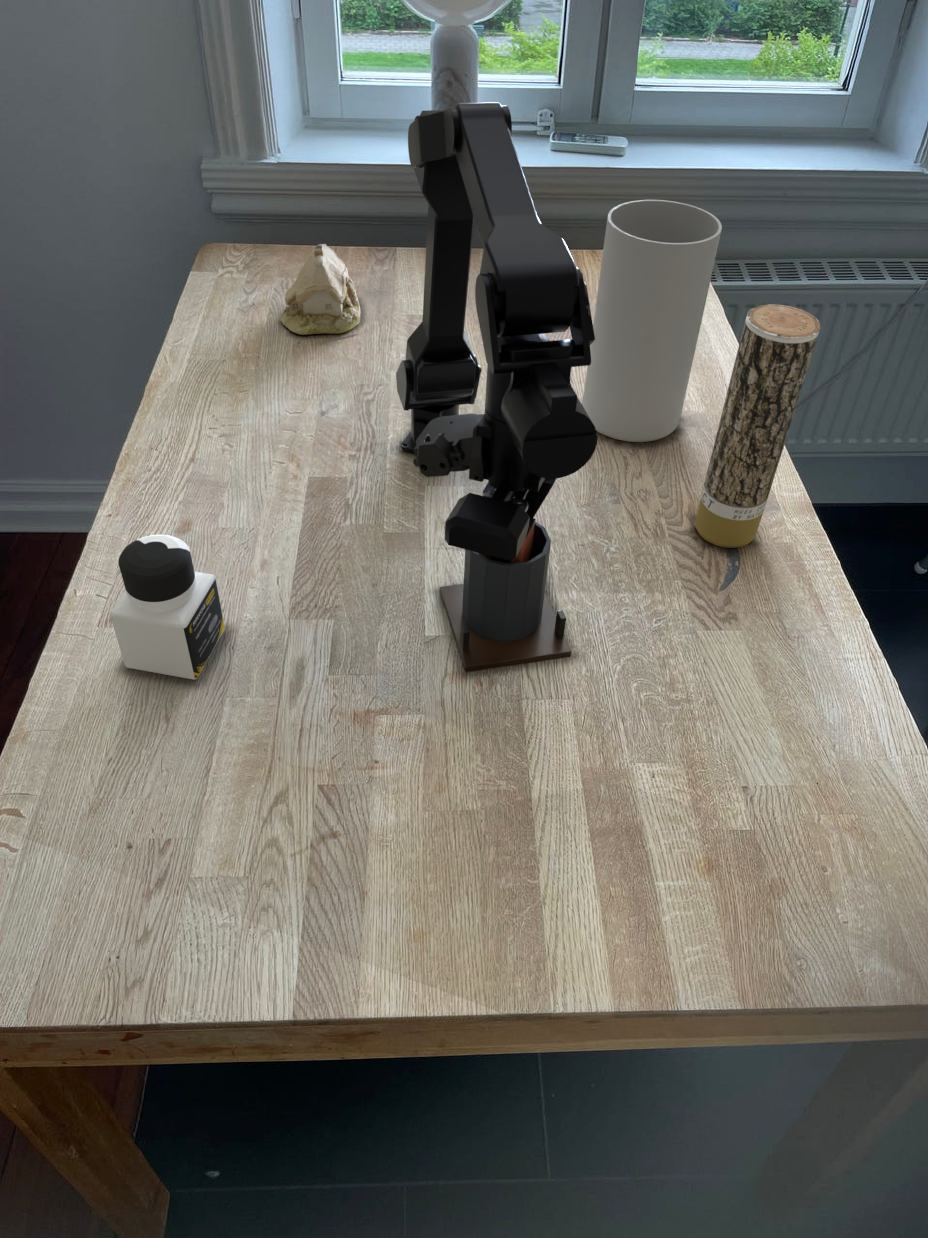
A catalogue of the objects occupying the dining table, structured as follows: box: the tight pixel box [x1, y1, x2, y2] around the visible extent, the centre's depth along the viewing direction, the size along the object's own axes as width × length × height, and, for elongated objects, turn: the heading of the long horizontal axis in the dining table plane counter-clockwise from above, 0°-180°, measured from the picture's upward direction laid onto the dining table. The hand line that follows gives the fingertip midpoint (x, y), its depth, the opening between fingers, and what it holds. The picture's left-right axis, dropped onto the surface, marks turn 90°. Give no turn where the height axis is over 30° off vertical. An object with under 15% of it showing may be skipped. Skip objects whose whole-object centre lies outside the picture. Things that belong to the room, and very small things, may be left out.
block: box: [480, 522, 535, 564], centre depth 90 cm, size 4×4×4 cm
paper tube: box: [694, 303, 821, 549], centre depth 99 cm, size 7×7×25 cm
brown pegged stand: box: [438, 583, 572, 673], centre depth 95 cm, size 11×10×3 cm
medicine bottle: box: [109, 534, 226, 680], centre depth 88 cm, size 7×7×12 cm
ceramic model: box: [281, 243, 361, 336], centre depth 138 cm, size 14×11×10 cm
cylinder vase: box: [581, 199, 723, 443], centre depth 116 cm, size 12×12×25 cm
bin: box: [462, 520, 552, 642], centre depth 92 cm, size 8×8×10 cm
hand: (506, 553), depth 90 cm, fingers closed on block, 4 cm apart
